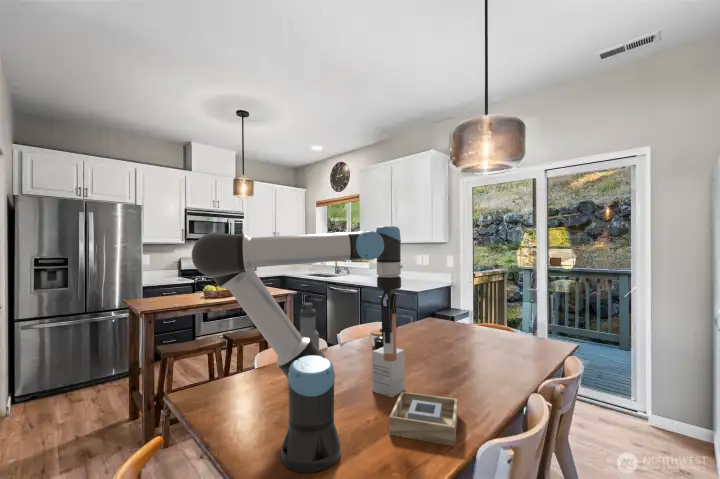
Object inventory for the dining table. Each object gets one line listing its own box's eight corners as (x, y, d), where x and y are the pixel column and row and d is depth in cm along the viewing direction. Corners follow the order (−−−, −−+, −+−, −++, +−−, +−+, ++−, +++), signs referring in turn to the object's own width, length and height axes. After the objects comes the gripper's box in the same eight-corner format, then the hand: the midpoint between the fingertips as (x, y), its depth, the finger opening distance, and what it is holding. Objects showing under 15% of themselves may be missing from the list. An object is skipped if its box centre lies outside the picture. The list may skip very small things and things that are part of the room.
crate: (455, 446, 92) (454, 427, 92) (389, 434, 98) (389, 417, 98) (457, 414, 109) (457, 398, 109) (401, 406, 115) (401, 391, 115)
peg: (395, 361, 105) (394, 315, 105) (382, 360, 106) (381, 315, 106) (397, 357, 109) (397, 313, 109) (385, 356, 110) (384, 312, 110)
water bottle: (294, 364, 156) (295, 302, 156) (315, 361, 159) (316, 301, 160) (299, 371, 146) (299, 305, 147) (321, 368, 150) (321, 304, 150)
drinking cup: (370, 372, 146) (370, 324, 146) (378, 366, 153) (378, 321, 153) (387, 375, 142) (387, 326, 143) (394, 369, 149) (394, 323, 150)
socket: (439, 431, 98) (439, 417, 98) (407, 426, 100) (407, 412, 101) (441, 416, 106) (441, 403, 106) (412, 412, 109) (412, 399, 109)
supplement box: (385, 383, 134) (385, 345, 134) (405, 390, 128) (405, 349, 128) (371, 391, 127) (371, 350, 127) (391, 398, 121) (391, 355, 121)
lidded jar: (367, 344, 187) (367, 327, 188) (386, 342, 191) (386, 325, 191) (374, 350, 177) (374, 331, 177) (393, 348, 180) (393, 330, 181)
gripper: (395, 278, 98) (396, 360, 98) (405, 273, 115) (406, 344, 114) (370, 278, 101) (371, 358, 100) (383, 273, 117) (384, 342, 117)
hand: (389, 350), depth 107 cm, fingers closed on peg, 4 cm apart
